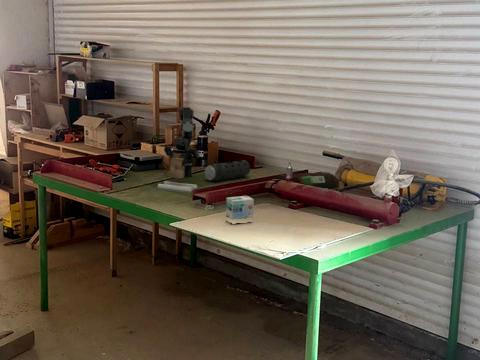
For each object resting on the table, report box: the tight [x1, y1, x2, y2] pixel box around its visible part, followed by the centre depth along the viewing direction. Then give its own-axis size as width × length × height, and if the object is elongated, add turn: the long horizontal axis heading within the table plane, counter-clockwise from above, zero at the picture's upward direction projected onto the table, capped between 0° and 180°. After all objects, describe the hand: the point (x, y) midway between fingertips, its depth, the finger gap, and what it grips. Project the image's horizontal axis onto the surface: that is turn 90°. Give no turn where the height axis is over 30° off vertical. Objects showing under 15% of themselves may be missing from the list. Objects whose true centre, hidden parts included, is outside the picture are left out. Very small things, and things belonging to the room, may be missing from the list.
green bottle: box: [272, 171, 340, 189], centre depth 316 cm, size 39×10×10 cm, turn 111°
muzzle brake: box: [204, 159, 251, 182], centre depth 339 cm, size 10×28×10 cm, turn 133°
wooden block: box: [170, 157, 185, 179], centre depth 310 cm, size 4×6×10 cm, turn 70°
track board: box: [156, 180, 199, 194], centre depth 312 cm, size 11×19×2 cm, turn 70°
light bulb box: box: [225, 195, 255, 220], centre depth 256 cm, size 11×7×11 cm, turn 117°
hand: (176, 165), depth 308 cm, fingers closed on wooden block, 6 cm apart
